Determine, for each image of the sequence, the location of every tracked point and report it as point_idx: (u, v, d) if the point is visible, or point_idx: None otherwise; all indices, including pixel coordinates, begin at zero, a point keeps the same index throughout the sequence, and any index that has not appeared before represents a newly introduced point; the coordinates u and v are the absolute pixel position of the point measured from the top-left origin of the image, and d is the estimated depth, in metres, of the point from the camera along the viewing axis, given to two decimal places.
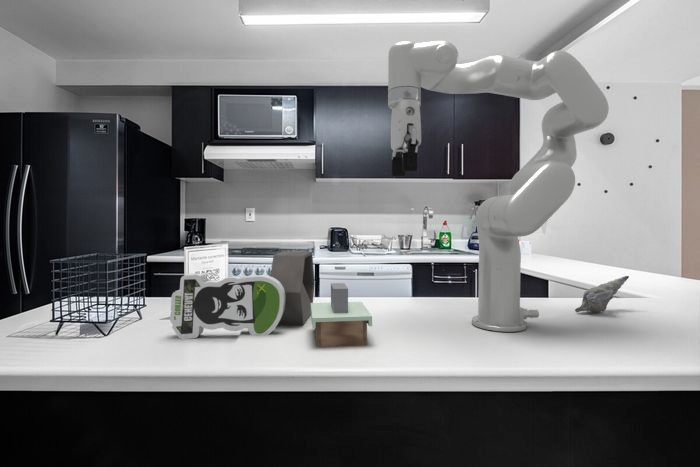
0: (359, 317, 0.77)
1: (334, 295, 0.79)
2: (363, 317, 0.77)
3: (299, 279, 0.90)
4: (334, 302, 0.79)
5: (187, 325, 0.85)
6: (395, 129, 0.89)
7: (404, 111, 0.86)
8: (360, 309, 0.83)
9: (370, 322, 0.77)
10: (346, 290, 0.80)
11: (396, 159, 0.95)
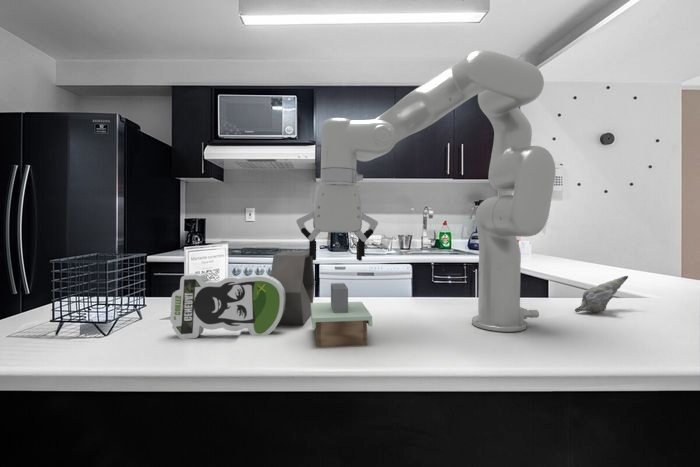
0: (359, 317, 0.77)
1: (334, 295, 0.79)
2: (363, 317, 0.77)
3: (299, 279, 0.90)
4: (334, 302, 0.79)
5: (187, 325, 0.85)
6: (343, 212, 0.80)
7: (360, 198, 0.81)
8: (360, 309, 0.83)
9: (370, 322, 0.77)
10: (346, 290, 0.80)
11: None
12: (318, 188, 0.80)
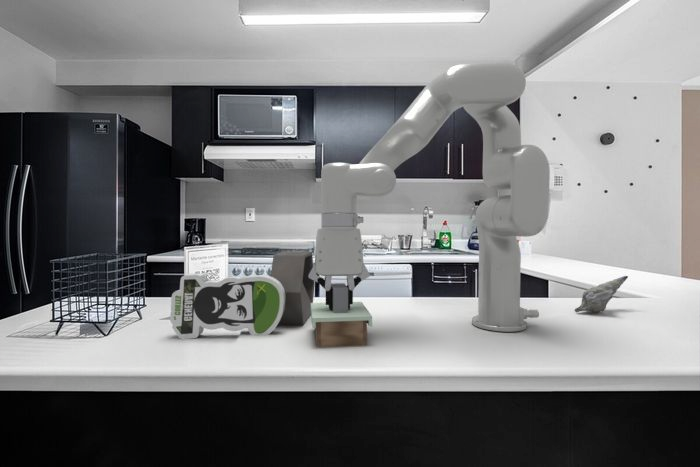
0: (359, 317, 0.77)
1: (334, 295, 0.79)
2: (363, 317, 0.77)
3: (299, 279, 0.90)
4: (334, 302, 0.79)
5: (187, 325, 0.85)
6: (345, 256, 0.80)
7: (361, 241, 0.82)
8: (360, 309, 0.83)
9: (370, 322, 0.77)
10: (346, 290, 0.80)
11: (331, 290, 0.82)
12: (319, 232, 0.80)
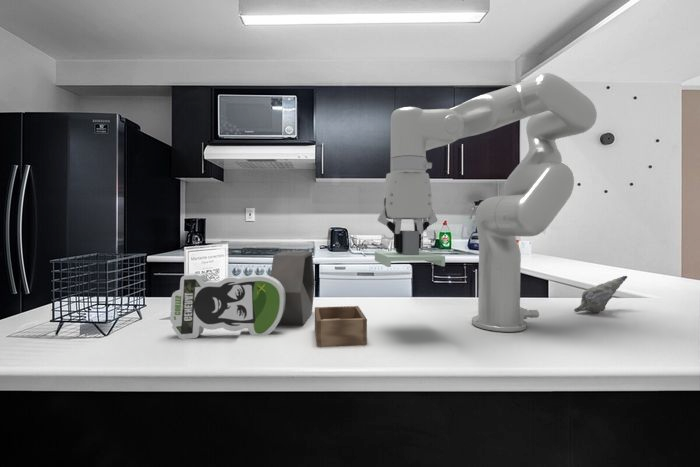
0: (432, 257, 0.78)
1: (405, 237, 0.81)
2: (436, 257, 0.78)
3: (299, 279, 0.90)
4: (405, 244, 0.81)
5: (187, 325, 0.85)
6: (415, 199, 0.82)
7: (430, 185, 0.83)
8: None
9: (443, 262, 0.78)
10: (417, 233, 0.81)
11: None
12: (390, 176, 0.82)
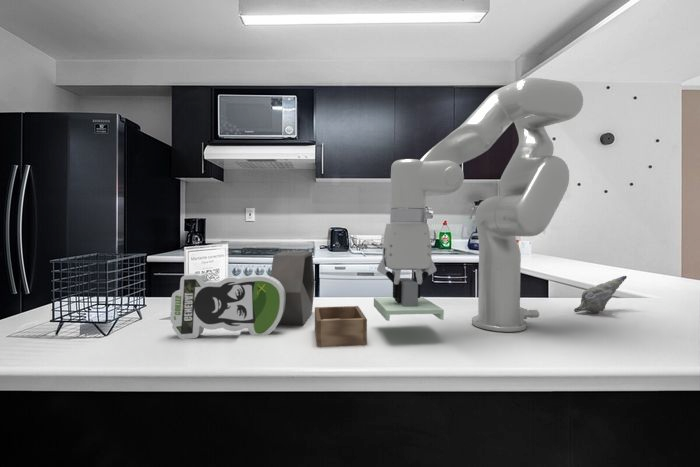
0: (431, 310, 0.78)
1: (404, 289, 0.81)
2: (435, 310, 0.78)
3: (299, 279, 0.90)
4: (404, 296, 0.81)
5: (187, 325, 0.85)
6: (414, 250, 0.82)
7: (429, 236, 0.84)
8: (427, 303, 0.84)
9: (442, 315, 0.79)
10: (416, 284, 0.81)
11: None
12: (390, 227, 0.82)
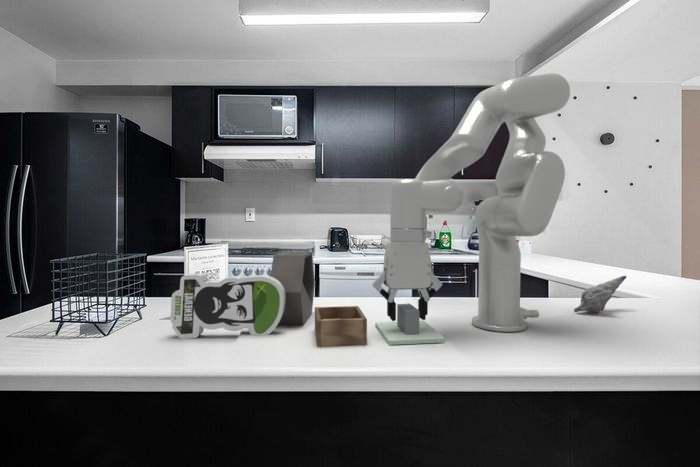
0: (433, 339, 0.79)
1: (406, 317, 0.81)
2: (437, 339, 0.79)
3: (299, 279, 0.90)
4: (406, 324, 0.81)
5: (187, 325, 0.85)
6: (415, 270, 0.82)
7: None
8: (428, 330, 0.85)
9: None
10: (418, 312, 0.82)
11: None
12: (390, 247, 0.82)
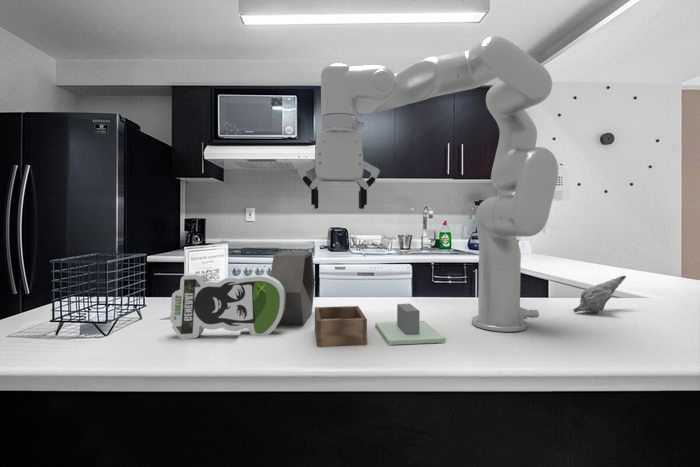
0: (433, 339, 0.79)
1: (406, 317, 0.81)
2: (437, 339, 0.79)
3: (299, 279, 0.90)
4: (406, 324, 0.81)
5: (187, 325, 0.85)
6: (345, 159, 0.80)
7: (361, 145, 0.81)
8: (428, 330, 0.85)
9: None
10: (418, 312, 0.82)
11: None
12: (319, 135, 0.80)
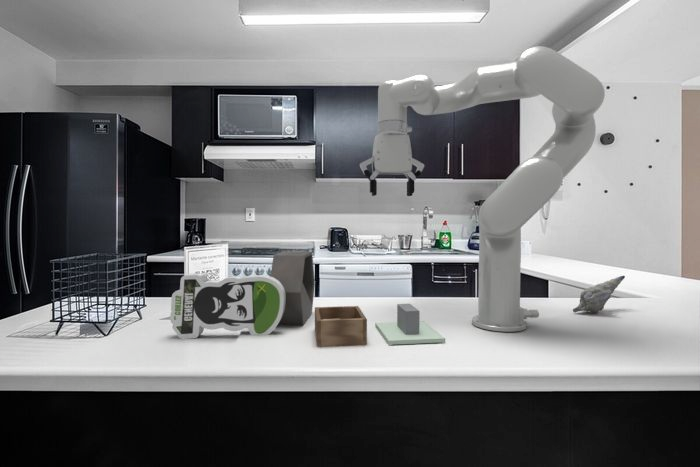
0: (433, 339, 0.79)
1: (406, 317, 0.81)
2: (437, 339, 0.79)
3: (299, 279, 0.90)
4: (406, 324, 0.81)
5: (187, 325, 0.85)
6: (398, 156, 1.00)
7: (410, 145, 1.02)
8: (428, 330, 0.85)
9: None
10: (417, 312, 0.82)
11: (375, 180, 1.02)
12: (377, 137, 1.00)
